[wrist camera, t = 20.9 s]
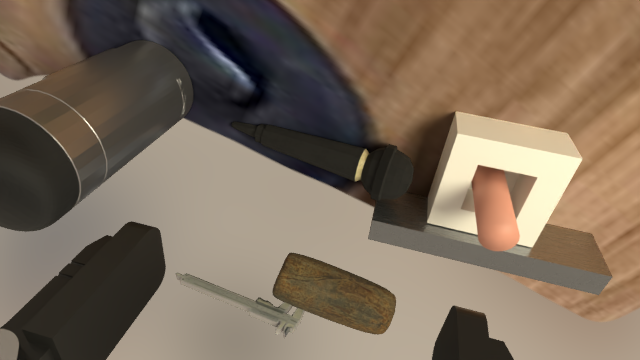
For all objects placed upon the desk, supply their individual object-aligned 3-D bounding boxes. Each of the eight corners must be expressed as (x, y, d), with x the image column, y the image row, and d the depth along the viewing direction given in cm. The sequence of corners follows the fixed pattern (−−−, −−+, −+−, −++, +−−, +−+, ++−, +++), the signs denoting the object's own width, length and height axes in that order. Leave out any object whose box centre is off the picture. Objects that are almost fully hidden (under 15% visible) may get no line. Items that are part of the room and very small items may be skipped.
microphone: (248, 125, 48) (413, 177, 44) (223, 159, 45) (399, 219, 40) (242, 88, 44) (425, 142, 39) (214, 123, 41) (410, 186, 36)
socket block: (427, 194, 44) (427, 222, 40) (455, 109, 38) (457, 133, 34) (523, 215, 43) (532, 247, 39) (566, 131, 37) (582, 159, 33)
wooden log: (280, 273, 56) (264, 312, 51) (290, 238, 52) (273, 276, 47) (384, 310, 55) (378, 354, 50) (402, 278, 51) (397, 321, 46)
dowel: (466, 179, 41) (473, 246, 33) (475, 153, 39) (485, 218, 31) (496, 185, 40) (511, 255, 32) (507, 160, 39) (526, 227, 31)
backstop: (375, 204, 46) (368, 238, 41) (379, 186, 45) (372, 220, 40) (580, 251, 43) (598, 295, 38) (592, 234, 42) (612, 276, 37)
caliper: (307, 298, 58) (294, 335, 53) (307, 303, 59) (294, 340, 54) (177, 271, 62) (153, 303, 57) (178, 276, 62) (155, 308, 57)
